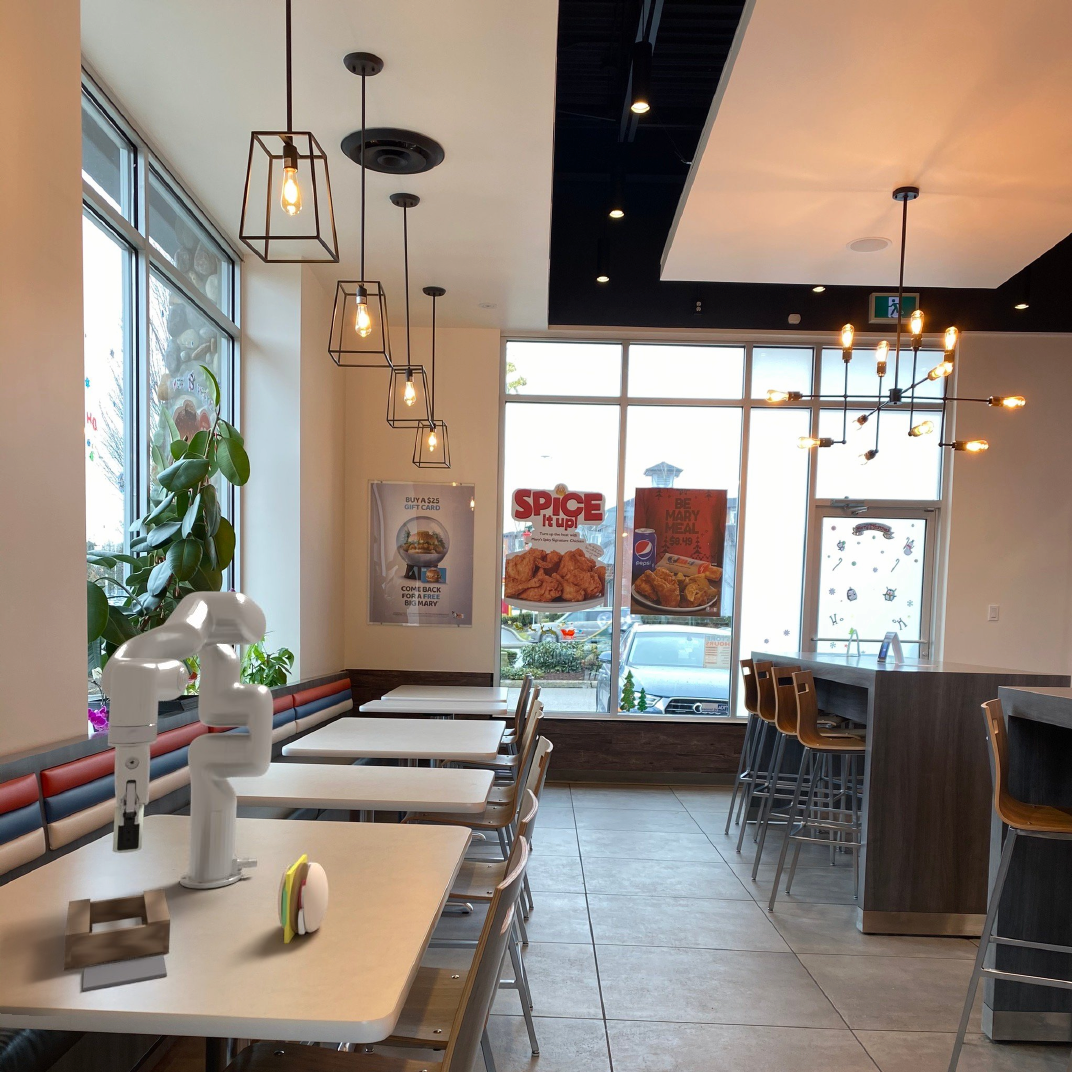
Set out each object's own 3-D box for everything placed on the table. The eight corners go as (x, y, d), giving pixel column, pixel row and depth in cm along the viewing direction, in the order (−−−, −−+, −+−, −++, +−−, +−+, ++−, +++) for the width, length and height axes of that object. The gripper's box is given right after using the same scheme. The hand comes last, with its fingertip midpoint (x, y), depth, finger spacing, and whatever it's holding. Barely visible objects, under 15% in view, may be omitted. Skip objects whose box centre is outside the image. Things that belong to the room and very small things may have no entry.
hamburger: (318, 943, 151) (319, 874, 152) (271, 943, 151) (273, 874, 152) (332, 918, 163) (334, 854, 164) (289, 918, 163) (291, 854, 164)
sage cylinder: (141, 844, 145) (143, 802, 146) (141, 851, 141) (144, 808, 142) (112, 847, 143) (115, 804, 144) (112, 854, 139) (114, 810, 140)
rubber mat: (163, 958, 144) (163, 954, 144) (166, 976, 137) (166, 973, 137) (83, 971, 139) (84, 968, 139) (82, 991, 132) (83, 988, 132)
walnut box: (162, 918, 162) (163, 888, 163) (169, 952, 146) (170, 919, 147) (67, 932, 155) (69, 901, 156) (63, 970, 139) (65, 935, 140)
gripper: (159, 740, 138) (154, 855, 136) (154, 727, 153) (150, 831, 151) (107, 743, 135) (101, 861, 133) (108, 730, 150) (103, 836, 148)
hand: (127, 844), depth 142 cm, fingers closed on sage cylinder, 4 cm apart
